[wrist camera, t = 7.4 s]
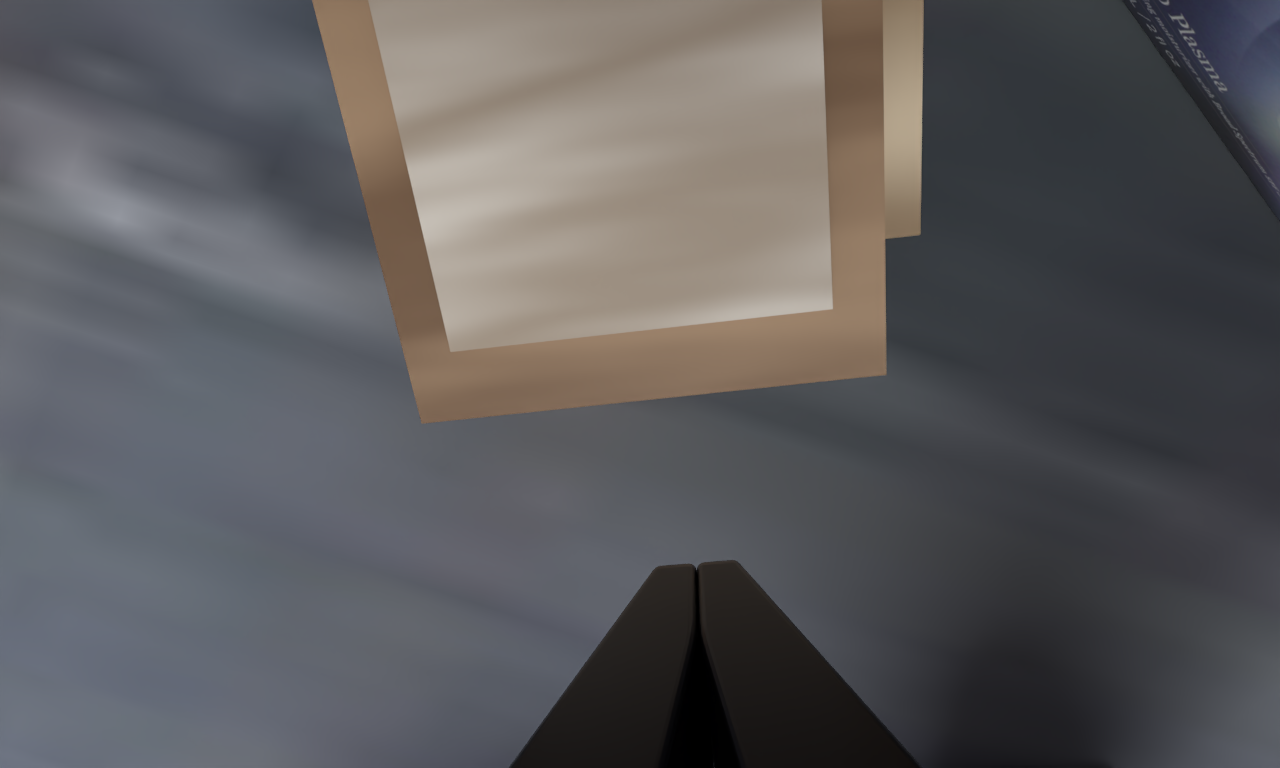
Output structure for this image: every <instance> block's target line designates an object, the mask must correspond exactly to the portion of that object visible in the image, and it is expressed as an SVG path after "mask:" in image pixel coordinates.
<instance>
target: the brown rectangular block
mask: <svg viewBox="0 0 1280 768" xmlns="http://www.w3.org/2000/svg"><path fill="white" fill-rule="evenodd" d="M312 1H313V5H314V9H315V13H316V17H317V21H318V24H319V28H320V32H321V36H322V40H323V44H324V48H325V51H326V55H327V59H328V63H329V67H330V71H331V75H332V78H333V82H334V86H335V90H336V94H337V98H338V102H339V106H340V109H341V113H342V117H343V121H344V125H345V129H346V133H347V136H348V140H349V144H350V148H351V152H352V156H353V160H354V164H355V167H356V171H357V175H358V179H359V183H360V187H361V191H362V194H363V198H364V202H365V206H366V210H367V214H368V218H369V221H370V225H371V229H372V233H373V237H374V241H375V245H376V249H377V252H378V256H379V260H380V264H381V268H382V272H383V276H384V279H385V283H386V287H387V291H388V295H389V299H390V303H391V307H392V310H393V314H394V318H395V322H396V326H397V330H398V334H399V337H400V341H401V345H402V349H403V353H404V357H405V361H406V364H407V368H408V372H409V376H410V380H411V384H412V388H413V392H414V395H415V399H416V403H417V407H418V411H419V415H420V419H421V422H422V423H432V422H442V421H451V420H461V419H470V418H480V417H489V416H499V415H508V414H518V413H527V412H537V411H546V410H556V409H565V408H575V407H584V406H594V405H603V404H613V403H622V402H632V401H642V400H651V399H661V398H670V397H680V396H689V395H699V394H708V393H718V392H727V391H737V390H746V389H756V388H765V387H775V386H784V385H794V384H803V383H813V382H822V381H832V380H842V379H851V378H861V377H870V376H880V375H886V282H885V181H884V81H883V0H312Z"/></svg>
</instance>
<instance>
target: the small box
mask: <svg viewBox="0 0 1280 768" xmlns="http://www.w3.org/2000/svg"><path fill="white" fill-rule="evenodd" d="M1123 1H1124V3H1125V4H1126V6H1127V7H1128V8H1129V10H1130V11H1131V13H1132V14H1133V16H1134V17H1135V18H1136V20H1137V21H1138V22H1139V24H1140V25H1141V27H1142V28H1143V29H1144V31H1145V32H1146V34H1147V35H1148V36H1149V38H1150V39H1151V41H1152V42H1153V44H1154V45H1155V46H1156V48H1157V49H1158V50H1159V52H1160V54H1161V55H1162V57H1163V58H1164V59H1165V60H1166V61H1167V63H1168V64H1169V65H1170V67H1171V68H1172V70H1173V72H1174V73H1175V74H1176V76H1177V77H1178V79H1179V80H1180V81H1181V83H1182V84H1183V86H1184V87H1185V89H1186V90H1187V91H1188V93H1189V94H1190V95H1191V97H1192V98H1193V99H1194V101H1195V102H1196V104H1197V105H1198V107H1199V108H1200V109H1201V111H1202V112H1203V114H1204V115H1205V117H1206V118H1207V120H1208V121H1209V123H1210V124H1211V125H1212V127H1213V128H1214V129H1215V131H1216V132H1217V133H1218V135H1219V136H1220V138H1221V139H1222V141H1223V142H1224V143H1225V145H1226V146H1227V147H1228V149H1229V151H1230V152H1231V154H1232V155H1233V156H1234V158H1235V159H1236V160H1237V162H1238V163H1239V164H1240V166H1241V167H1242V168H1243V170H1244V171H1245V173H1246V174H1247V175H1248V177H1249V178H1250V180H1251V181H1252V182H1253V184H1254V186H1255V187H1256V189H1257V190H1258V191H1259V193H1260V194H1261V196H1262V197H1263V198H1264V200H1265V201H1266V203H1267V204H1268V206H1269V207H1270V208H1271V210H1272V211H1273V213H1274V214H1275V215H1276V217H1277V218H1278V219H1279V221H1280V0H1123Z"/></svg>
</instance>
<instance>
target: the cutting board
mask: <svg viewBox="0 0 1280 768" xmlns="http://www.w3.org/2000/svg"><path fill="white" fill-rule="evenodd" d="M923 12H924V0H883V81H884V181H885V239H889V238H898V237H907V236H915V235H920V233H921V159H922V86H923Z"/></svg>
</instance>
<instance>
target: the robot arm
mask: <svg viewBox="0 0 1280 768" xmlns="http://www.w3.org/2000/svg"><path fill="white" fill-rule="evenodd" d="M509 768H922V766H921V765H920V764H919V763H918V762H917V761H916V760H915V759H914V758H913V756H912V755H911V754H910V753H909V752H908V751H907V750H906V749H905V748H904V746H903V745H902V744H901V743H900V742H899V741H898V740H897V739H896V737H895V736H894V735H893V734H892V733H891V732H890V731H889V730H888V729H887V727H886V726H885V725H884V724H883V723H882V722H881V721H880V720H879V719H878V717H877V716H876V715H875V714H874V713H873V712H872V711H871V710H870V708H869V707H868V706H867V705H866V704H865V703H864V702H863V701H862V700H861V698H860V697H859V696H858V695H857V694H856V693H855V692H854V691H853V689H852V688H851V687H850V686H849V685H848V684H847V683H846V682H845V681H844V679H843V678H842V677H841V676H840V675H839V674H838V673H837V672H836V671H835V669H834V668H833V667H832V666H831V665H830V664H829V663H828V662H827V660H826V659H825V658H824V657H823V656H822V655H821V654H820V653H819V652H818V650H817V649H816V648H815V647H814V646H813V645H812V644H811V643H810V642H809V640H808V639H807V638H806V637H805V636H804V635H803V634H802V633H801V631H800V630H799V629H798V628H797V627H796V626H795V625H794V624H793V623H792V621H791V620H790V619H789V618H788V617H787V616H786V615H785V614H784V613H783V611H782V610H781V609H780V608H779V607H778V606H777V605H776V604H775V602H774V601H773V600H772V599H771V598H770V597H769V596H768V595H767V594H766V592H765V591H764V590H763V589H762V588H761V587H760V586H759V585H758V584H757V582H756V581H755V580H754V579H753V578H752V577H751V576H750V575H749V573H748V572H747V571H746V570H745V569H744V568H743V567H742V566H741V565H740V564H739V563H738V562H737V561H735V560H727V561H715V562H704V563H701V564H700V565H699V566H698V568H697V570H696V568H695V566H694V565H692V564H678V565H666V566H658V567H656V568H655V569H654V570H653V571H652V573H651V574H650V575H649V577H648V578H647V579H646V581H645V582H644V584H643V585H642V586H641V588H640V589H639V590H638V592H637V593H636V595H635V596H634V597H633V599H632V600H631V601H630V603H629V604H628V605H627V607H626V608H625V610H624V611H623V612H622V614H621V615H620V616H619V618H618V619H617V621H616V622H615V623H614V625H613V626H612V627H611V629H610V630H609V631H608V633H607V634H606V636H605V637H604V638H603V640H602V641H601V642H600V644H599V645H598V647H597V648H596V649H595V651H594V652H593V653H592V655H591V656H590V657H589V659H588V660H587V662H586V663H585V664H584V666H583V667H582V668H581V670H580V671H579V673H578V674H577V675H576V677H575V678H574V679H573V681H572V682H571V683H570V685H569V686H568V688H567V689H566V690H565V692H564V693H563V694H562V696H561V697H560V699H559V700H558V701H557V703H556V704H555V705H554V707H553V708H552V709H551V711H550V712H549V714H548V715H547V716H546V718H545V719H544V720H543V722H542V723H541V725H540V726H539V727H538V729H537V730H536V731H535V733H534V734H533V735H532V737H531V738H530V740H529V741H528V742H527V744H526V745H525V746H524V748H523V749H522V751H521V752H520V753H519V755H518V756H517V757H516V759H515V760H514V762H513V763H512V764H511V766H510V767H509Z"/></svg>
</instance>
